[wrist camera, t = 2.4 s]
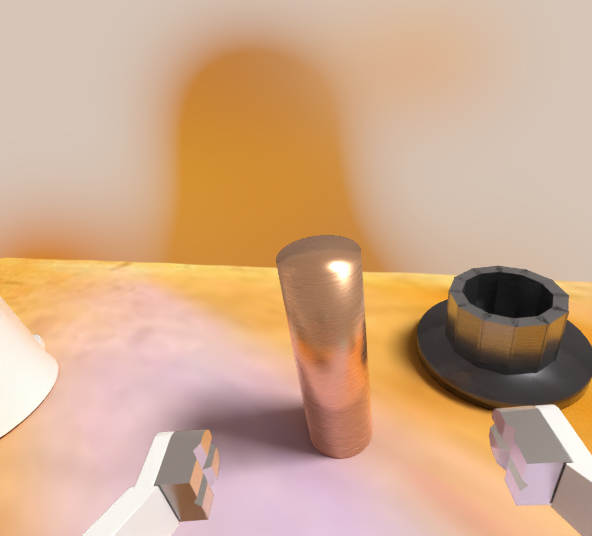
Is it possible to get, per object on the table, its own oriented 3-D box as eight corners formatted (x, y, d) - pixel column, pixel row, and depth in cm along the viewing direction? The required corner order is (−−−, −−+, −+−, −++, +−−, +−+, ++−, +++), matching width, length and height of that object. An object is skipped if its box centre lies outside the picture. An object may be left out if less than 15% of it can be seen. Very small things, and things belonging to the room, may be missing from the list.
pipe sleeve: (442, 421, 29) (447, 360, 26) (402, 312, 42) (402, 261, 38) (634, 407, 28) (664, 341, 25) (535, 299, 40) (547, 245, 37)
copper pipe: (309, 460, 28) (273, 281, 20) (308, 405, 33) (278, 240, 25) (376, 456, 28) (366, 271, 20) (367, 401, 32) (355, 231, 24)
